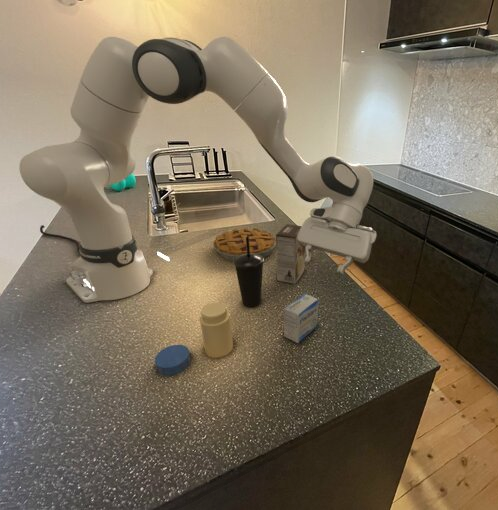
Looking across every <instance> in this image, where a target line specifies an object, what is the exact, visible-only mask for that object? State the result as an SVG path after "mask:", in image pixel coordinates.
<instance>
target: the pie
mask: <svg viewBox="0 0 498 510" xmlns="http://www.w3.org/2000/svg"><path fill="white" fill-rule="evenodd" d="M246 237H249V249H250V253H256V254H259V255H261V256H263V258H264V259H265V258H267V256H270V255H271V253H272V251H273V249H274V248H275V246H276V237H274V236H273V234H272V233H271V232H269V233H268V231H266V230H260V229H259V228H252V229H248V228H247V227H246V228H245V227H244V228H241V229H237V228H235V229H232V230H231V231H225V232H222V233H221V234H218V235H216V237H215V239H214V240H213V242H212V243H213V248H214V249H215V250H216V251H217V252H218V253H219V255H220V256H221V257H222V258H224V259H225V260H227V261H230V262H233V260H234V258H235V257H237V256H238V255H241V254H245V253H247V246H246Z"/></svg>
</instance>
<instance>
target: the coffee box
mask: <svg viewBox="0 0 498 510" xmlns="http://www.w3.org/2000/svg"><path fill="white" fill-rule="evenodd" d="M301 227H302V225H296V224H290V223H289V224H288V223H286V224H285V225H284V226H283V227H282V228H281V230H279V231H278V232H277V233H276V234H275V241H276V244H275V246H276V279H277V281H278V282H285V283H290V284H297V283H298V281H299V280H300V278H301V276H302V275H303V273H304V272H305V265H306V262H305V258H306V246H303V245H301V244H300V243H299V242H298V239H297V235H298V233H299V231H300V229H301Z"/></svg>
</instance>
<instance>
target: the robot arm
mask: <svg viewBox="0 0 498 510" xmlns="http://www.w3.org/2000/svg"><path fill="white" fill-rule="evenodd" d="M78 82H79V83H78V85H77V89H76V91H75V94H74V97H73V100H72V103H71V106H70V109H69V110H70V117H71V118H72V120H73V121H74V122H75V124H76V125H77V126H78V127H79V128H80V133H79V136H78V137H77V138H76V139H75V140H74V141H71V142H67V143H60V144H53V145H52V144H51V145H47V146H43V147H41V148H39V149H35V150H33V151H32V152H30V153H29V152H28V153H27V154H26V155H24V156H22V158H21V159H20V162H19V173H20V177H21V179H22V180H23V182H24V184H25V185H26V186H27V188H28V189H30V190H31V191H32V192H34V193H35V194H37V195H38V196H40V197H42V198H44V199H47V200H50V201H52V202H54V203H56V205H58V206H59V207H60V208H62V210H64V212H65V213H66V214H67V216H68V217H69V219H70V220H71V223H72V225H73V227H74V230H75V232H76V235H77V238H78V240H79V241H77V240H76V239H74V238H71V237H67V236H64V235H61V234H54V233H47V232H45V231H44V228H45V225H44V224H41V225H40V227H39V232H40V233H41V235H44V236H48V237H56V238H61V239H64V240H68V241H71V242H72V243H75V244H76V251H77V252H78V254H79V257H78V258H77V259H75V260H74V261H73V263H72V264H71V267H72V271H70V272H69V275H70V276H69V277H67V278H66V279H65V281H66V282H65V284H66V285H67V286H68V287H69V288H70V289H71V291H73V293H75V295H77V297H78V298H79V299H80V300H81V301H82V302H83V303H85V304H91V303H94V302H99V301H114V300H115V301H116V300H120V299H125V298H128V297H132V296H134V295H136V294H138V293H140V292H142V291H144V290H145V289H146V288H147V287H148V286H149V285H150V284H151V277H152V275H153V274H154V270H153V269H152V268H148V264H147V261H146V259H145V256H144V254H143V251H142V250H140V249H138V245H137V241H136V238H135V237H134V235H133V234H132V231H131V226H130V223H129V217H128V215H127V212H126V210H125V209H124V208H123V207H121V206H120V205H118V204H115V203H112V202H111V201H110V199H109V198H108V197H107V195H106V192H105V188H107V187H109V186H110V185H112V184H115V183H118V182H120V181H122V180H124V179H125V180H126V177H128V176H129V175H130V174H131V173H132V174H133V173H134V171H135V169H136V160H135V156H134V154H133V152H132V151H131V142H132V138H133V135H134V133H135V130H136V129H137V126H138V124H139V121H140V119H141V116H142V114H143V112H144V110H145V108H146V105H147V102H148V101H149V99H150V98H152V99H153V100H155V101H157V102H160V103H164V104H167V105H179V104H184V103H186V102H188V101H190V100H194V99H196V98H197V97H198V96H200V95H201V94H203V93H205V92H211V93H213V94H214V95H216V96H218V97H219V98H221V99H222V101H224V102H225V103H226V104H227V105H228V106H229V108H231V110H232V111H234V113H235V114H236V115H237V116H238V117H239V118H240V119H241V120H242V121H243V122H244V123H245V125H246V126H247V127H248V128H249V130H251V132H252V133H253V135H254V137H255V138H256V140H257V141H258V143H259V144H260V146H261V147H262V149H263V150H264V151H265V152H266V154H268V156H269V157H270V158H271V159H272V160H273V162H274V163H275V164H276V165H277V166H278V167H279V168H280V170H281V171H282V172H283V173H284V174H285V176H286V177H287V178H288V179H289V181H290V184H291V185H292V188H293V189H294V191H295V193H296V194H297V196H298V197H299V198H300V199H301V200H303V201H305V202H307V203H317V202H319V201H322V200H324V199H328V198H329V199H331V200H332V203H331V205H330V206H326V207H316V208H312V209H311V210H310V211H309V215H310V216H309V217H308V218H306V219H305V220H304V221H303V222H302V225H301V226H302V227H301V229H300V231H299V233H298V235H297V239H298V242H299V243H300V244H301V245H303V246H305V264H308V265H312V264H313V262H314V257H313V256H312V253H313V252H314V250H317V251H321V252H325V253H328V254H331V255H333V256H334V255H335V256H338V257H341V258H344V259H345V262H344V263H342V265H341V264H338V266H337V269H336V273H337V274H340V275H344V274H345V272H346V269H348V268H349V267H350V266H352V265H353V263H354V262H355V261H356V262H359V263H361V264H365V263H366V262H368V261H369V259H370V256H371V252H372V246H373V245H374V244H375V242H376V240H377V236H378V234H377V231H375V230H374V228H372V227H367V226H364V225H360V223H361V220H362V218H363V214H364V213H363V212H364V209H365V207H367V205H368V203H369V200H370V198H371V195H372V191H373V188H374V174H373V173H372V171H371V170H370V169H369V168H368V167H367V166H365V165H363V164H361V163H349V162H347V161H346V160H344V159H343V158H342V157H339V156H336V155H331V156H327V157H325V158H323V159H320V160H318V161H317V162H314V163H312V164H311V163H309V162H306V161H305V160H304V159H303V158H302V156H301V155H300V154H299V152H298V151H297V150H296V149H295V147H294V146H293V145H292V144H291V142H290V141H289V140H288V138H287V136H286V133H285V132H286V131H285V125H286V121H287V117H288V113H289V112H288V111H289V107H288V98H287V97H286V95H285V93H284V91H283V90H282V88H281V87H280V84H278V83H277V81H276V80H275V78H273V77H272V75H271V74H270V73H269V72H268V71H267V70H266V69H265V67H264V66H263V65H262V64H261V63H260V62H259V61H258V60H257V59H256V58H255V57H254V56H253V55H252V54H251V53H249V51H247V49H246V48H244V47H243V46H242V45H241V44H239V43H238V42H236V40H234V39H232V38H231V37H228V36H220V37H217V38H214V39H213V40H211V41H210V42H208V43H207V45H206V46H205V47H204V48H201V47H200V46H199V45H198V44H196V43H194V42H192V41H190V40H188V39H182V38H178V37H163V38H152V39H148V40H145V41H144V42H142V43H141V44H140V45H139V46H137V45H136V44H134V43H133V42H131V41H129V40H127V39H125V38H121V37H117V36H107V37H104V38H103V39H101V41H99V43H98V44H97V46H96V47H95V49H94V50H93V51H92V53H91V55H90V56H89V58H88V60H87V62H86V65H85V67H84V69H83V71H82V74H81V77H80V79H79V81H78ZM156 253H157V256H159V257H160V258H162V259H163V260H165V261H168V262H170V257H169V256H166V255H164V254H163V253H161V252H159V251H157V252H156Z"/></svg>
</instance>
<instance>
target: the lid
mask: <svg viewBox="0 0 498 510" xmlns="http://www.w3.org/2000/svg"><path fill="white" fill-rule="evenodd" d="M191 361H192V357H191V353H190V349H189V348H188V346H186V345H185V344H173V345H168V346H166V347H164V348H163V349H161V350H160V351H159V352H157V354H156V355H155V357H154V364H155V367H156V370H157V373H159V375H162V376H174V375H178V374H180V373H182V372H183V371H184V370H186V369H187V368H188V367H189V366H190V363H191Z"/></svg>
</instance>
